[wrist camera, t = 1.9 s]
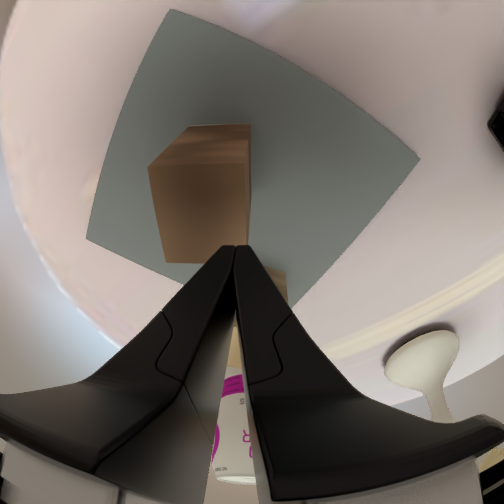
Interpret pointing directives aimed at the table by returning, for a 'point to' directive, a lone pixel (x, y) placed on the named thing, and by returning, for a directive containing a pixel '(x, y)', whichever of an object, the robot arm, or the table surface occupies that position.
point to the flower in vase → (431, 375)
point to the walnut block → (203, 191)
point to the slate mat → (262, 152)
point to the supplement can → (233, 434)
